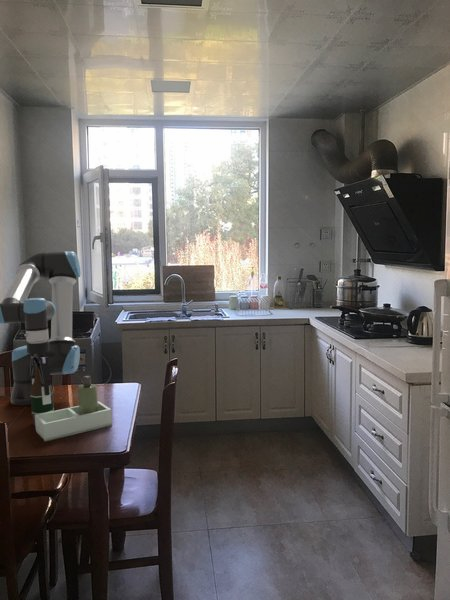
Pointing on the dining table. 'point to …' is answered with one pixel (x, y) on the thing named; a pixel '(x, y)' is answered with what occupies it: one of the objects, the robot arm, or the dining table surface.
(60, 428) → the caddy
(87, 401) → the olive bottle
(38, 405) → the beer bottle
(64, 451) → the dining table surface
